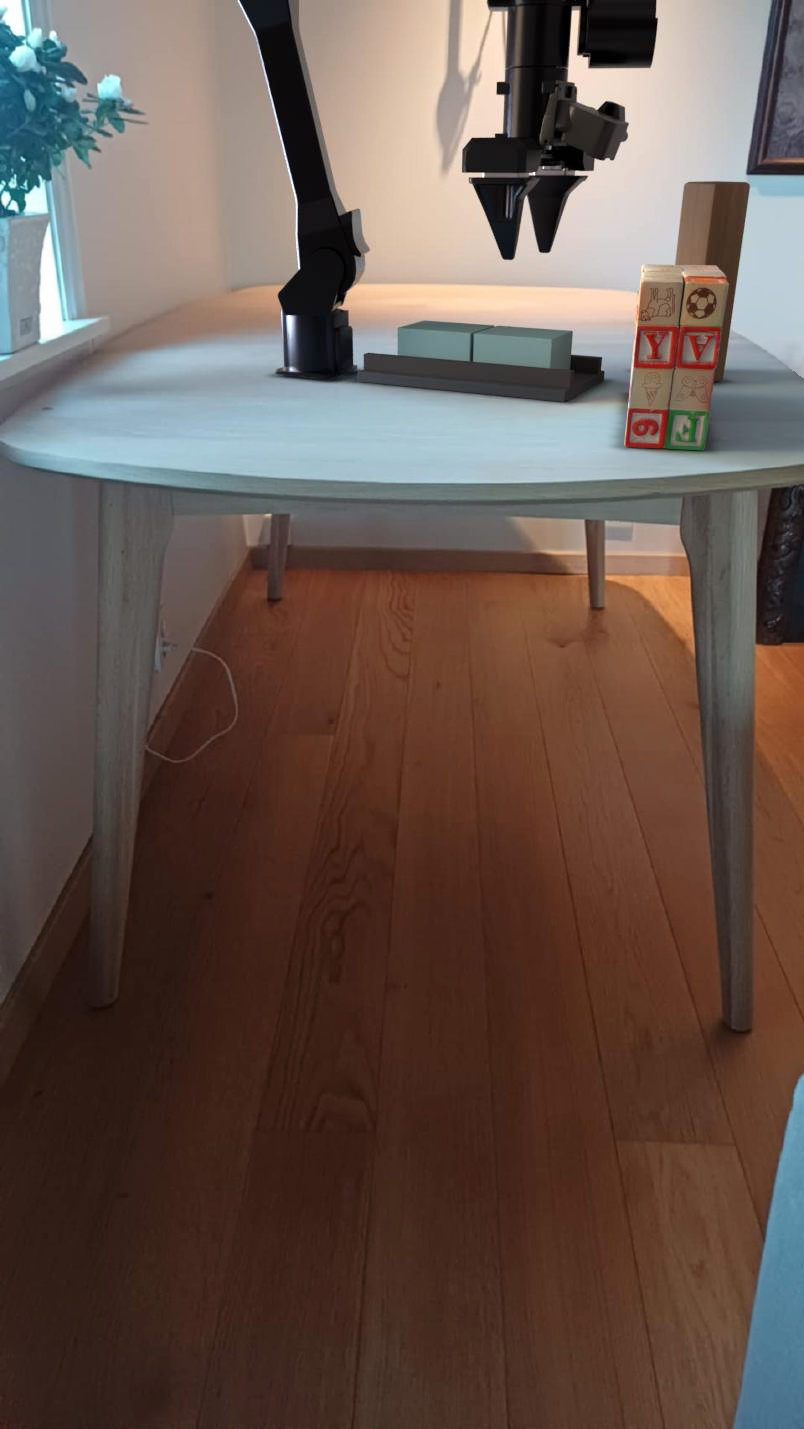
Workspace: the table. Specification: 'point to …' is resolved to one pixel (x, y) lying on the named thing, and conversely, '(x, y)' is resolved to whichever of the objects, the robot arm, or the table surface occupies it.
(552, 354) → the grey-green rectangular block
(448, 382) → the pad jig
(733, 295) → the wooden block
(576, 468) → the table surface
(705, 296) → the stack of blocks
